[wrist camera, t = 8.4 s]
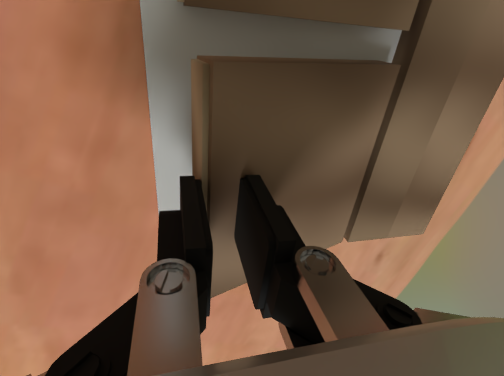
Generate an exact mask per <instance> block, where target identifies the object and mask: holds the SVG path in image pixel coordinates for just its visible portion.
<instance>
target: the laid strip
mask: <svg viewBox="0 0 504 376" xmlns="http://www.w3.org/2000/svg"><path fill="white" fill-rule="evenodd" d="M392 63H394V64H399V65H401V67H400V70H399V73H398V76H397V79H396V81H395V84H394V87H393V90H392V93H391V96H390V99H389V102H388V105H387V108H386V111H385V114H384V117H383V120H382V123H381V126H380V129H379V132H378V135H377V138H376V141H375V144H374V147H373V150H372V153H371V156H370V159H369V162H368V165H367V168H366V171H365V174H364V177H363V180H362V183H361V186H360V189H359V192H358V195H357V198H356V201H355V204H354V207H353V210H352V213H351V216H350V219H349V222H348V225H347V228H346V231H345V234H344V238H345V239H346V240H347V242H354V241H363V240H373V239H382V238H391V237H400V236H409V235H419V234H423V233H424V231H425V229H426V227H427V225H428V223H429V221H430V220H431V218H432V216H433V214H434V212H435V210H436V208H437V206H438V204H439V202H440V200H441V198H442V196H443V194H444V192H445V190H446V188H447V186H448V185H449V183H450V181H451V179H452V177H453V175H454V173H455V171H456V169H457V167H458V165H459V163H460V161H461V159H462V157H463V155H464V153H465V152H466V150H467V148H468V146H469V144H470V142H471V140H472V138H473V136H474V134H475V132H476V130H477V128H478V126H479V124H480V122H481V120H482V118H483V117H484V115H485V113H486V111H487V109H488V107H489V105H490V103H491V101H492V99H493V97H494V95H495V93H496V91H497V89H498V87H499V85H500V83H501V82H502V80H503V78H504V0H419V2H418V5H417V8H416V11H415V14H414V17H413V20H412V23H411V26H410V29H409V31H406V30H402V32H401V35H400V38H399V41H398V45H397V48H396V51H395V54H394V57H393V60H392Z"/></svg>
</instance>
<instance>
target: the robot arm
mask: <svg viewBox="0 0 504 376" xmlns="http://www.w3.org/2000/svg"><path fill="white" fill-rule="evenodd" d="M234 238H235V243H236V246H237V250H238V253H239V256H240V260H241V263H242V266H243V270H244V273H245V277H246V280H247V283H248V287H249V290H250V294H251V297H252V300H253V304H254V307H255V309H260V311H261V314H262V317H263V318H270V317H272V318H273V319H275V320H276V321H278V322H279V329H280V332H281V335H282V337H283V340H284V343H285V345H286V348H287V350H282V351H277V352H272V353H267V354H261V355H256V356H251V357H246V358H241V359H236V360H231V361H226V362H220V363H215V364H210V365H205V366H202V353H201V340H200V334H201V333H202V332H203V331H204V330H205V328H206V317H207V316H209V315H210V299H211V282H212V266H213V242H212V236H211V231H210V226H209V221H208V216H207V211H206V206H205V201H204V196H203V190H202V185H201V180H200V179H195V176H180V210H168V211H159V228H158V254H157V262H155V263H153V264H151V265H150V266H149V267H147V268H146V270H145V271H144V272H143V273H142V276H141V279H140V284H139V292H138V293H137V294H136V295H134V296H133V297H132V298H131V299H130V300H128V301H127V302H126V303H125V304H123V305H122V306H121V307H120V308H118V309H117V310H116V311H115V312H114V313H112V314H111V315H110V316H109V317H107V318H106V319H105V320H104V321H103V322H101V323H100V324H99V325H98V326H96V327H95V328H94V329H93V330H91V331H90V332H89V333H88V334H87V335H85V336H84V337H83V338H82V339H80V340H79V341H78V342H77V343H75V344H74V345H73V346H72V347H71V348H69V349H68V350H67V351H66V352H64V353H63V354H62V355H61V356H60V357H59V358H58V359H57V360H56V361H55V362H54V363H53V364H52V365H51V367H50V368H49V370H48V371H47V372H44V373H42V374H40V375H38V376H504V318H495V317H467V316H461V315H455V314H449V313H443V312H437V311H432V310H426V309H420V308H415V309H414V311H413V310H412V309H411V308H410V307H409V306H407V305H406V304H404V303H403V302H401V301H399V300H397V299H395V298H393V297H391V296H388V295H386V294H384V293H382V292H380V291H378V290H376V289H374V288H371V287H369V286H367V285H365V284H363V283H361V282H359V281H356V280H354V279H352V277H351V276H350V275H349V273H348V272H347V270H346V269H345V268H344V266H343V265H342V263H341V262H340V261H339V259H338V258H337V257H336V256H335V255H334V254H333V253H331V252H330V251H328V250H326V249H324V248H322V247H317V246H305V244H304V242H303V240H302V239H301V237H300V235H299V234H298V232H297V230H296V229H295V227H294V225H293V224H292V222H291V220H290V218H289V217H288V215H287V213H286V212H285V210H284V208H283V207H282V206H281V205H277V204H276V203H275V201H274V199H273V197H272V196H271V194H270V192H269V190H268V189H267V187H266V185H265V183H264V181H263V180H262V178H261V176H260V175H245V178H244V179H240V183H239V193H238V203H237V212H236V222H235V231H234ZM27 376H32V375H31V374H29V375H27Z"/></svg>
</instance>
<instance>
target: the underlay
mask: <svg viewBox="0 0 504 376" xmlns="http://www.w3.org/2000/svg"><path fill="white" fill-rule="evenodd" d="M140 8H141V20H142V31H143V42H144V54H145V65H146V76H147V87H148V99H149V110H150V121H151V132H152V144H153V155H154V166H155V178H156V189H157V200H158V211H168V210H180V176H192V111H191V59H197V55H204V56H240V57H276V58H312V59H348V60H379V61H384V62H389V63H392V60H393V57H394V54H395V51H396V48H397V45H398V41H399V38H400V35H401V32H402V30H396V29H386V28H377V27H369V26H360V25H351V24H342V23H333V22H324V21H315V20H306V19H298V18H289V17H280V16H271V15H262V14H253V13H244V12H235V11H227V10H218V9H209V8H200V7H191V6H183V2H177V0H140Z"/></svg>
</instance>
